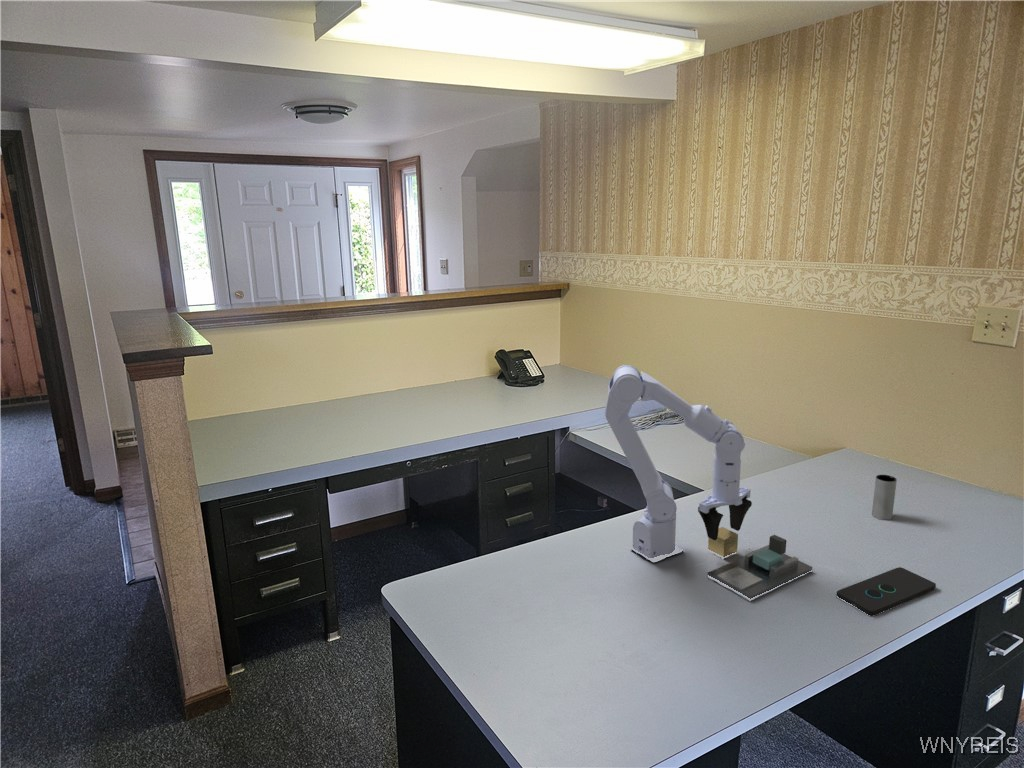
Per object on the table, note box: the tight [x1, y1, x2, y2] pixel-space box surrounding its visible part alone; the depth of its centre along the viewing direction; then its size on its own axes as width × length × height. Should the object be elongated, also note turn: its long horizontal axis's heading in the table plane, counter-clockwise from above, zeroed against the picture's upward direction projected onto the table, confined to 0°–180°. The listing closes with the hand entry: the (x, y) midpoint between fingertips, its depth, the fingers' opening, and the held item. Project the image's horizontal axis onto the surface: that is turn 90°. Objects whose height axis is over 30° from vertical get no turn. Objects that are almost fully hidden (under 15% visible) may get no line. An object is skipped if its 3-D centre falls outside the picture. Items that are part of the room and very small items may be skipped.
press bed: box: [707, 544, 813, 599], centre depth 139 cm, size 20×11×3 cm, turn 122°
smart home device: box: [836, 566, 937, 617], centre depth 131 cm, size 8×2×20 cm
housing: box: [707, 526, 739, 557], centre depth 148 cm, size 4×4×5 cm
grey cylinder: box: [871, 474, 897, 521], centre depth 163 cm, size 4×4×10 cm
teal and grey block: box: [753, 534, 787, 570], centre depth 140 cm, size 6×4×5 cm, turn 122°
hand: (723, 533), depth 148 cm, fingers open, 7 cm apart
